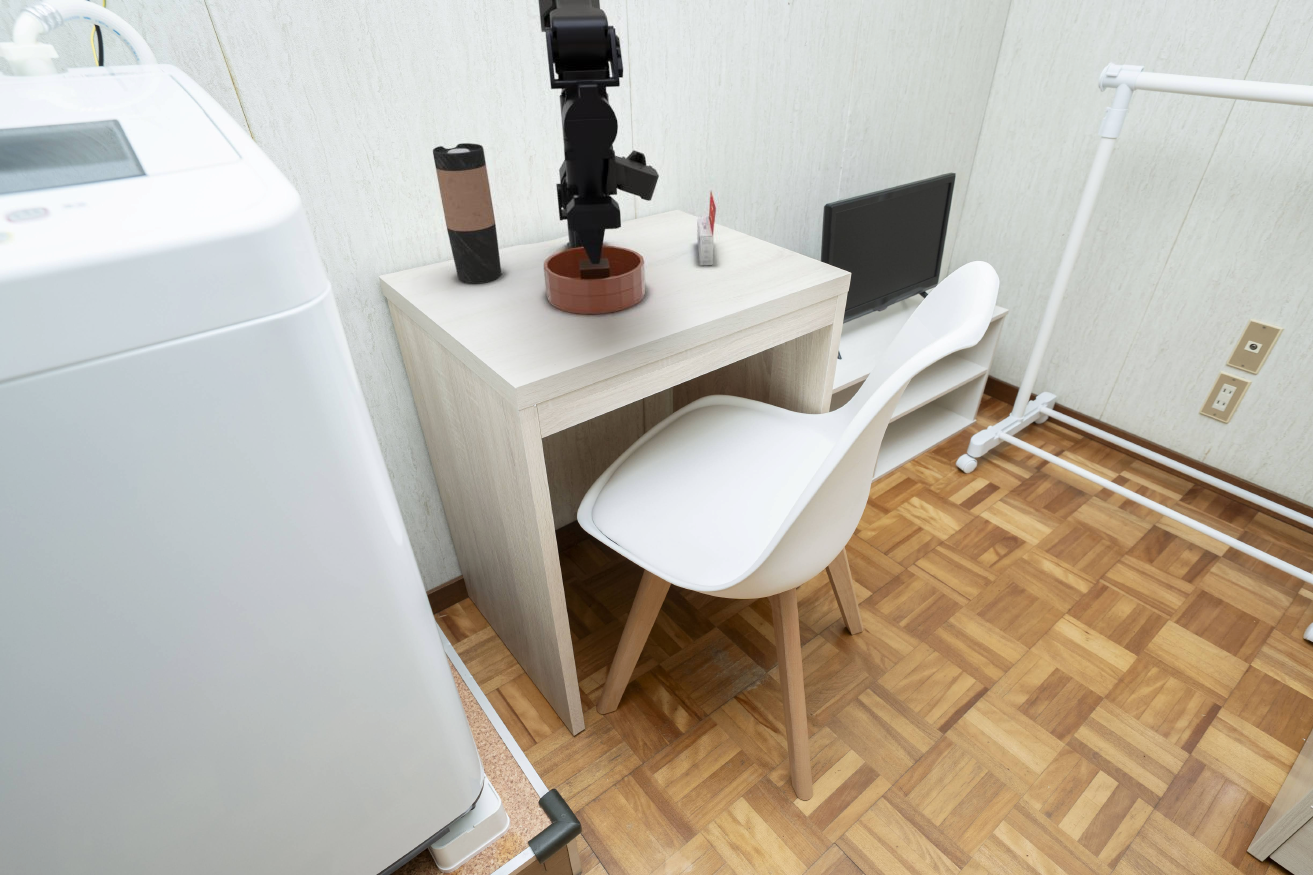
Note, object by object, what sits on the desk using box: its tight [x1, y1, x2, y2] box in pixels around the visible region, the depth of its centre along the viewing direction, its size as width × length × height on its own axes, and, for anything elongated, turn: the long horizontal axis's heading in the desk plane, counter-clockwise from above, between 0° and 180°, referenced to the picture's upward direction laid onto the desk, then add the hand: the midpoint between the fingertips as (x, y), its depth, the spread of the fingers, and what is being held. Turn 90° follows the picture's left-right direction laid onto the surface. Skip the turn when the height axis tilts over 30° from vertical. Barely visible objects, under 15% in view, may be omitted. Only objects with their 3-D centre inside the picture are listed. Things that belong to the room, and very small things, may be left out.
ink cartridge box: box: [696, 190, 717, 266], centre depth 115 cm, size 2×11×10 cm, turn 0°
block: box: [579, 258, 610, 279], centre depth 103 cm, size 4×4×4 cm
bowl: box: [543, 245, 646, 315], centre depth 103 cm, size 15×15×5 cm
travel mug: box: [432, 142, 502, 285], centre depth 106 cm, size 8×8×20 cm
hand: (595, 263), depth 89 cm, fingers closed
